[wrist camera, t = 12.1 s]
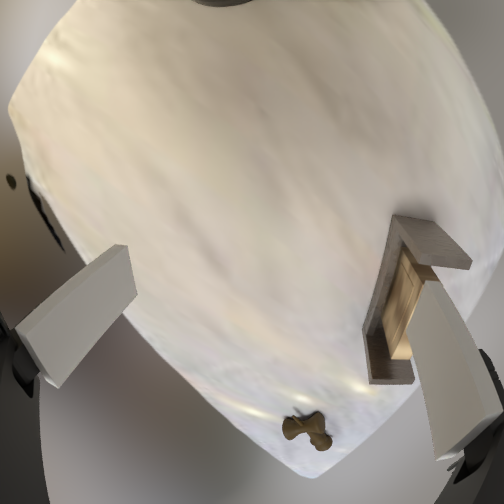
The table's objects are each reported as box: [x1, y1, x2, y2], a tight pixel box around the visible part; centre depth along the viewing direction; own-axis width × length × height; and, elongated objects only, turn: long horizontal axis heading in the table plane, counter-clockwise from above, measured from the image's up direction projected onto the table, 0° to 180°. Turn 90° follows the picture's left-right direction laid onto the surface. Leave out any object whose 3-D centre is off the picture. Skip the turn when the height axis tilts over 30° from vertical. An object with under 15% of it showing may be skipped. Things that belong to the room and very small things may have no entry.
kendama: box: [282, 413, 332, 451], centre depth 57 cm, size 6×10×20 cm
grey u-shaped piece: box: [362, 215, 473, 385], centre depth 33 cm, size 20×7×12 cm, turn 179°
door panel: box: [381, 247, 443, 360], centre depth 33 cm, size 12×3×10 cm, turn 179°
